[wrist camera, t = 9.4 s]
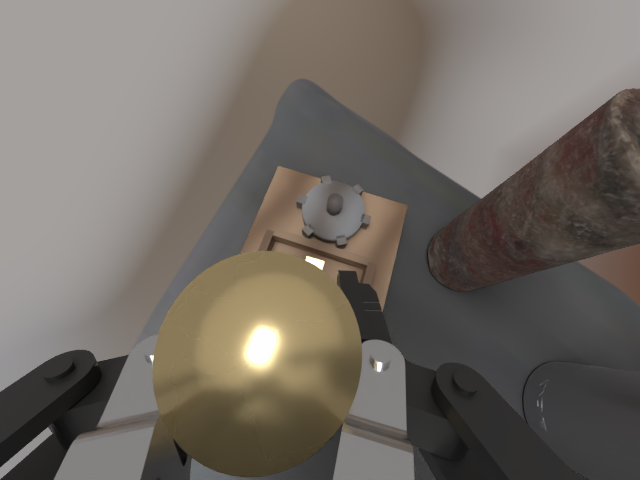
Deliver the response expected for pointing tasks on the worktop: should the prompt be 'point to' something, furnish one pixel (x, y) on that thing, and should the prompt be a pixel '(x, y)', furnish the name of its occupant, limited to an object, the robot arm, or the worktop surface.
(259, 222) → the gear board
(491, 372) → the worktop surface
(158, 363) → the gear shaft
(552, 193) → the candle
